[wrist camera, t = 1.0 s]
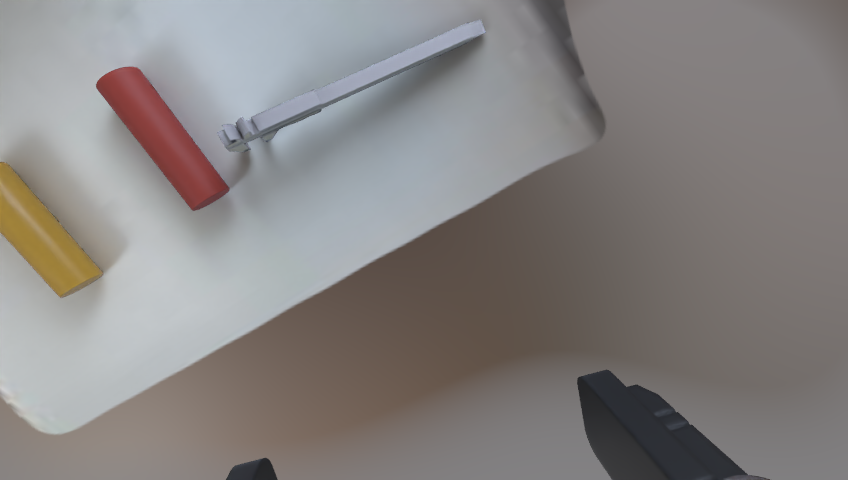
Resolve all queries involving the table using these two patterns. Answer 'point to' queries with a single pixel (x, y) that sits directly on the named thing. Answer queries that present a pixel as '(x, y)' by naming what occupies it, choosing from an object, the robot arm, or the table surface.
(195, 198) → the red rod
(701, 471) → the robot arm
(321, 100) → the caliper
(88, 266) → the yellow rod
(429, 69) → the table surface
